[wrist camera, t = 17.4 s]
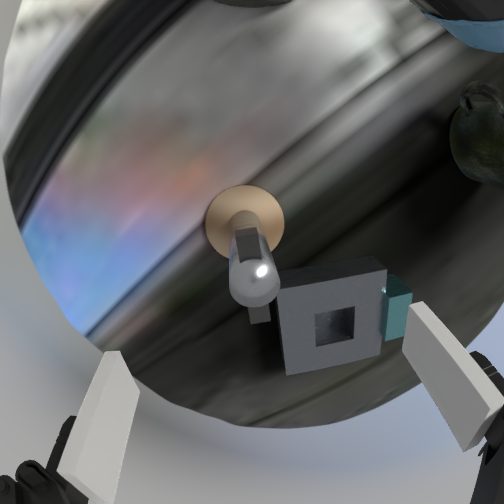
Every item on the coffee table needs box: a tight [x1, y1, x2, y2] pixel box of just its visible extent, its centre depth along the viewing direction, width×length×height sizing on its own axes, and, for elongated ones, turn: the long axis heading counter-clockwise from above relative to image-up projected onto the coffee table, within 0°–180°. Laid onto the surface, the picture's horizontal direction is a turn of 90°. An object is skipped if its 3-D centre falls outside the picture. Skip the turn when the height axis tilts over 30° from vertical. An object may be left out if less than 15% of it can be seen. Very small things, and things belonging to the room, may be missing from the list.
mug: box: [449, 80, 504, 190], centre depth 24 cm, size 11×15×12 cm
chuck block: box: [275, 255, 412, 375], centre depth 35 cm, size 12×15×5 cm
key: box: [229, 210, 280, 324], centre depth 26 cm, size 3×6×13 cm, turn 8°
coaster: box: [205, 185, 284, 258], centre depth 32 cm, size 8×8×1 cm
